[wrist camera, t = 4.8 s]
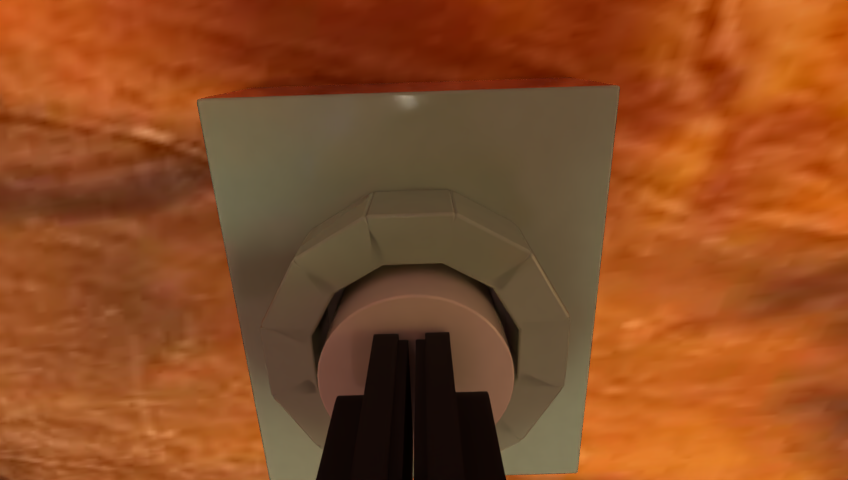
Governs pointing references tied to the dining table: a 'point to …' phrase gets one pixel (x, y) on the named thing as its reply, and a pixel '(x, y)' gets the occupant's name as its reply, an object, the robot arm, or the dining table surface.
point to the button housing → (416, 233)
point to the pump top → (418, 331)
